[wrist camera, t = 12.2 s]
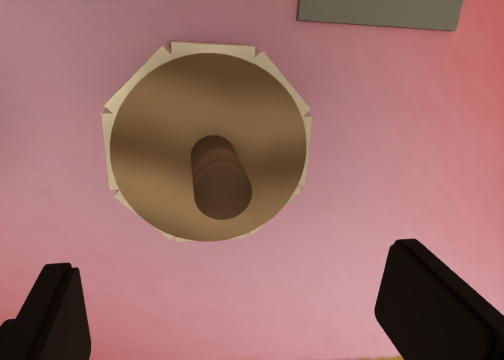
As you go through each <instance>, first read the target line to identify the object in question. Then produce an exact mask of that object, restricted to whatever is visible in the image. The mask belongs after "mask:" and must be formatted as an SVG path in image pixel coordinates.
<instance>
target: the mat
mask: <svg viewBox="0 0 504 360" xmlns="http://www.w3.org/2000/svg"><path fill="white" fill-rule="evenodd" d="M462 3H463V0H298V7H297V18H296V20H300V21H315V22H329V23H344V24H358V25H373V26H387V27H402V28H416V29H430V30H445V31H456V27H457V23H458V19H459V15H460V11H461V7H462Z"/></svg>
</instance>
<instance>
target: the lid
mask: <svg viewBox="0 0 504 360" xmlns="http://www.w3.org/2000/svg"><path fill="white" fill-rule="evenodd" d="M306 149H307V142H306V132H305V127H304V123H303V119H302V117H301V114H300V111H299V109H298V107H297V105H296V103H295V101H294V99H293V98H292V96H291V95H290V94H289V92H288V91H287V89H286V88H285V87H284V86H283V85H282V84H281V83H280V82H279V81H278V80H277V79H276V78H275V77H274V76H272V75H271V74H270V73H269V72H267V71H266V70H264V69H262V68H261V67H259V66H257V65H256V64H253V63H251V62H249V61H246V60H244V59H241V58H238V57H234V56H231V55H227V54H218V53H198V54H191V55H186V56H182V57H179V58H176V59H173V60H170V61H168V62H166V63H164V64H162V65H160V66H158V67H157V68H155V69H154V70H152V71H151V72H149V73H148V74H147V75H146V76H145V77H143V78H142V79H141V80H140V81H139V82H138V83H137V84H136V85H135V86H134V88H133V89H132V90H131V91H130V92H129V94H128V95H127V96H126V98H125V100H124V101H123V103H122V104H121V106H120V108H119V110H118V113H117V115H116V117H115V120H114V124H113V127H112V131H111V138H110V161H111V166H112V171H113V174H114V177H115V181H116V183H117V185H118V187H119V189H120V191H121V194H122V195H123V197H124V198H125V200H126V201H127V203H128V204H129V205H130V206H131V207H132V209H133V210H134V211H135V212H136V213H137V214H138V215H139V216H140V217H142V218H143V219H144V220H145V221H146V222H148V223H149V224H151V225H152V226H154V227H155V228H157V229H159V230H161V231H163V232H165V233H167V234H170V235H173V236H176V237H179V238H183V239H187V240H194V241H219V240H226V239H230V238H235V237H238V236H241V235H244V234H246V233H248V232H250V231H253V230H255V229H257V228H258V227H260V226H261V225H263V224H265V223H266V222H267V221H269V220H270V219H271V218H273V217H274V216H275V215H276V214H277V213H278V212H279V211H280V210H281V209H282V208H283V207H284V206H285V204H286V203H287V202H288V201H289V199H290V198H291V196H292V195H293V193H294V191H295V190H296V188H297V185H298V183H299V181H300V179H301V176H302V173H303V170H304V165H305V160H306Z"/></svg>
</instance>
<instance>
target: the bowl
mask: <svg viewBox="0 0 504 360" xmlns="http://www.w3.org/2000/svg"><path fill="white" fill-rule="evenodd" d="M198 53H218V54H227V55H231V56H234V57H238V58H241V59H244V60H246V61H249V62H251V63H253V64H256V65H257V66H259V67H261V68H262V69H264V70H266V71H267V72H269V73H270V74H271V75H272V76H274V77H275V78H276V79H277V80H278V81H279V82H280V83H281V84H282V85H283V86H284V87H285V88H286V89H287V91H288V92H289V94H290V95H291V96H292V98H293V99H294V101H295V103H296V105H297V107H298V109H299V111H300V114H301V117H302V119H303V123H304V127H305V132H306V142H307V149H306V160H305V165H304V170H303V173H302V176H301V179H300V181H299V183H298V185H305V180H306V172H307V163H308V155H309V146H310V137H311V129H312V120H313V116H311V115H310V114H308V113H307V112H309V111H310V110H311V109H310V108H309V106H308V105H307V104H306V103H305V101H304V100H303V99H302V98H301V97H300V95H299V94H298V93H297V92H296V90H295V89H294V88H293V87H292V86H291V84H290V83H289V82H288V81H287V79H286V78H285V77H284V76H283V75H282V73H281V72H280V71H279V70H278V68H277V67H276V66H275V65H274V64H273V62H272V61H271V60H270V59H269V57H268V56H267V55H266V54H265V53H264V51H263V50H257V49H255V46H248V45H241V44H225V43H206V42H187V41H172V42H171V48H170V47H169V46H168V45H167V44H164V45H162V46H161V47H160V48H159V49H158V50H157V51H156V53H155V54H154V55H153V56H152V57H151V58H150V59H149V60H148V61H147V62H146V63H145V64H144V65H143V66H142V67H141V68H140V69H139V70H138V71H137V72H136V73H135V74H134V75H133V76H132V77H131V78H130V79H129V80H128V81H127V82H126V83H125V84H124V85H123V86H122V88H121V89H120V90H119V91H118V92H117V93H116V94H115V95H114V96H113V97H112V98H111V99H110V100H109V101H108V102H107V103H106V104H105V105H104V106H105V107H106V109H105V110H104V111H103V112H102V113H101V116H102V125H103V135H104V144H105V153H106V163H107V172H108V182H109V190H116V191H115V194H114V196H113V197H115V198H116V199H117V200H119V201H120V202H121V203H123V204H124V205H125V206H126V207H128V208H129V209H130V210H132V211H133V212H134V213H136V212H135V211H134V210H133V209H132V207H131V206H130V205H129V204H128V203H127V201H126V200H125V198H124V197H123V195H122V194H121V191H120V189H119V187H118V185H117V183H116V181H115V177H114V174H113V171H112V166H111V161H110V138H111V131H112V127H113V124H114V120H115V117H116V115H117V113H118V110H119V108H120V106H121V104H122V103H123V101H124V100H125V98H126V96H127V95H128V94H129V92H130V91H131V90H132V89H133V88H134V86H135V85H136V84H137V83H138V82H139V81H140V80H141V79H142V78H143V77H145V76H146V75H147V74H148V73H149V72H151V71H152V70H154V69H155V68H157V67H158V66H160V65H162V64H164V63H166V62H168V61H170V60H173V59H176V58H179V57H182V56H186V55H191V54H198ZM300 192H301V190H300V188H299V187H298V186H297V188H296V190H295V191H294V193H293V195H292V196H291V198H290V199H289V201H288V202H287V203H286V204H288V203H289V202H290V201H291V200H292V199H293V198H294V197H295V196H297V195H298V194H299V193H300ZM286 204H285V205H286ZM136 214H137V213H136ZM137 215H138V214H137ZM138 216H139V215H138ZM141 218H142V217H141ZM142 219H143V218H142ZM143 220H144V219H143ZM147 223H148V222H147ZM150 225H151V224H150ZM263 225H264V224H263ZM263 225H261V226H260V227H258V228H257V229H255V230H253V231H250V232H248V233H250V234H251V235H253V234H254V233H255V232H256V231H257V230H258V229H260V228H261V227H262V226H263ZM151 226H152V225H151ZM153 227H154V226H153ZM154 228H155V227H154ZM155 229H157V228H155ZM157 230H158V231H159V232H160V233H162V234H163V235H164V236H166V237H167V238H168V239H171V238H172V237H174V236H173V235H170V234H167V233H165V232H163V231H161V230H159V229H157ZM238 238H245V234H244V235H241V236H238V237H235V238H230V239H238ZM183 241H194V240H187V239H183V238H179V237H177V242H183Z"/></svg>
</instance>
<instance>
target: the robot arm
mask: <svg viewBox="0 0 504 360" xmlns="http://www.w3.org/2000/svg"><path fill="white" fill-rule="evenodd" d="M375 317H376V319H377V321H378V323H379V324H380V325H381V327H382V328H383V330H384V331H385V333H386V334H387V336H388V337H389V338H390V340H391V341H392V343H393V344H394V346H395V347H396V349H397V350H398V352H399V353H400V354H401V356H402V357H403V359H404V360H504V316H503V315H502V314H501V313H500V312H499V311H498V310H497V309H495V308H494V307H493V306H492V305H491V304H490V303H489V302H487V301H486V300H485V299H484V298H483V297H482V296H481V295H479V294H478V293H477V292H476V291H475V290H474V289H473V288H472V287H470V286H469V285H468V284H467V283H466V282H465V281H464V280H462V279H461V278H460V277H459V276H458V275H457V274H456V273H454V272H453V271H452V270H451V269H450V268H449V267H448V266H446V265H445V264H444V263H443V262H442V261H441V260H440V259H439V258H437V257H436V256H435V255H434V254H433V253H432V252H431V251H429V250H428V249H427V248H426V247H425V246H424V245H423V244H421V243H420V242H419V241H418V240H416V239H400V240H396V241H395V242H394V244H393V245H391V246H390V249H389V253H388V257H387V261H386V265H385V269H384V273H383V277H382V281H381V285H380V289H379V293H378V297H377V301H376V305H375ZM90 353H91V338H90V332H89V326H88V320H87V314H86V308H85V302H84V296H83V290H82V284H81V278H80V272H79V269H78V268H77V267H76V268H72V266H71V264H70V263H55V264H46V265H45V266H44V267H43V269H42V271H41V273H40V274H39V276H38V278H37V280H36V282H35V284H34V286H33V287H32V289H31V291H30V293H29V295H28V297H27V299H26V300H25V302H24V304H23V306H22V308H21V310H20V312H19V313H18V315H17V317H16V319H8V320H6V321H5V322H3V324H2V325H1V326H0V360H89V358H90Z"/></svg>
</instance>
